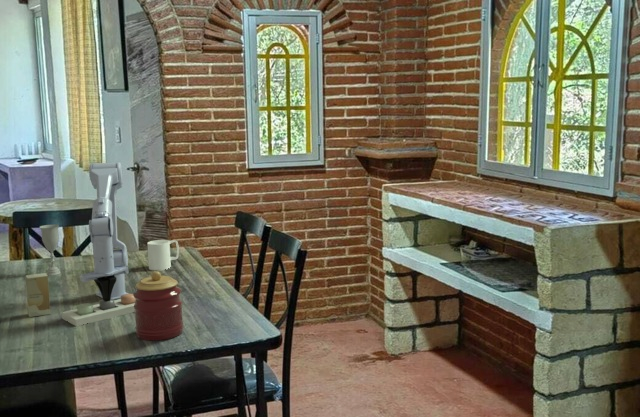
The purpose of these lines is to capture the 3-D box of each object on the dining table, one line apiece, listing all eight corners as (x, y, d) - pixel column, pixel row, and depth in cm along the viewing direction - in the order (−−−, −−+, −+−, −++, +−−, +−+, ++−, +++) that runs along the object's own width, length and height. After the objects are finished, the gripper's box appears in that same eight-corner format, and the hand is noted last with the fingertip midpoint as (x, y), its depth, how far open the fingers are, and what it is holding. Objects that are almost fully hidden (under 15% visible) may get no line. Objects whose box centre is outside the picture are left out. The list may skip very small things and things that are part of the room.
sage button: (75, 315, 211) (74, 305, 211) (89, 312, 214) (88, 302, 214) (81, 319, 208) (80, 308, 208) (95, 315, 211) (94, 305, 211)
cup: (183, 267, 271) (181, 241, 270) (151, 271, 266) (150, 245, 264) (177, 263, 279) (176, 238, 277) (146, 267, 273) (145, 241, 272)
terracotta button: (118, 305, 221) (118, 295, 220) (131, 302, 224) (131, 292, 223) (125, 308, 217) (124, 298, 217) (138, 305, 220) (137, 295, 220)
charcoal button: (97, 310, 216) (96, 300, 216) (111, 307, 219) (110, 297, 218) (103, 313, 213) (103, 303, 212) (117, 310, 216) (116, 300, 215)
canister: (140, 344, 188) (135, 279, 185) (132, 330, 200) (127, 269, 197) (188, 336, 193) (184, 273, 191) (178, 323, 205) (174, 263, 202)
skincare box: (29, 317, 214) (25, 278, 212) (27, 313, 218) (23, 275, 216) (51, 314, 217) (48, 275, 215) (49, 310, 221) (46, 272, 219)
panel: (62, 318, 212) (61, 312, 211) (135, 301, 228) (135, 295, 227) (76, 326, 204) (75, 319, 204) (151, 308, 220) (150, 301, 220)
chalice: (67, 272, 268) (63, 225, 265) (52, 276, 262) (47, 228, 259) (55, 270, 272) (50, 224, 269) (39, 274, 266) (35, 227, 263)
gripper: (85, 263, 205) (89, 308, 208) (131, 254, 215) (134, 298, 217) (75, 259, 211) (79, 303, 213) (121, 251, 220) (124, 293, 222)
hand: (106, 300), depth 215 cm, fingers closed, pressing on charcoal button
